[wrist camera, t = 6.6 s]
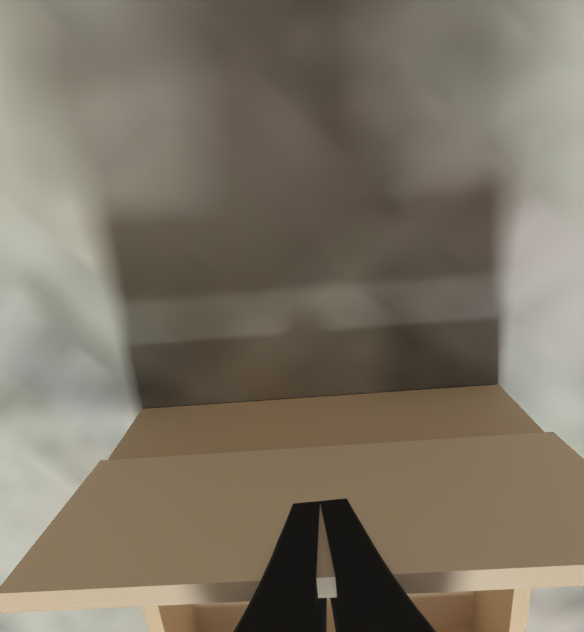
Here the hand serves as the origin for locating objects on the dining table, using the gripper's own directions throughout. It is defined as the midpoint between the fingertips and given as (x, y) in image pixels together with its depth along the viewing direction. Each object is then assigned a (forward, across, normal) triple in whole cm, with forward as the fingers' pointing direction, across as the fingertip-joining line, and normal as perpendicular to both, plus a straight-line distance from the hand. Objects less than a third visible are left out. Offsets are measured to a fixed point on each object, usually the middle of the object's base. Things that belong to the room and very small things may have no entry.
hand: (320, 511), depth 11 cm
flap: (-1, 0, -1) cm, 1 cm away
